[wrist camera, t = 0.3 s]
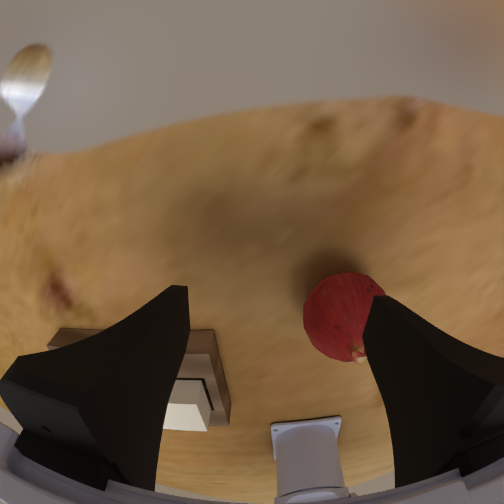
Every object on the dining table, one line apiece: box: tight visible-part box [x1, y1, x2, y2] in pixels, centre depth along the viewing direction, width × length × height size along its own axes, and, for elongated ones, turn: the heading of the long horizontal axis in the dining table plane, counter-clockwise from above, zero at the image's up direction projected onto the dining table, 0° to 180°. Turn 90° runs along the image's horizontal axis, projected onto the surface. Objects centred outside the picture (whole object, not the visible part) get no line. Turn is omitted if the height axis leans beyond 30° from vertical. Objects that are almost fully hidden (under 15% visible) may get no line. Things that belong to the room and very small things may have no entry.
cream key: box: [163, 380, 211, 431], centre depth 22 cm, size 4×4×3 cm
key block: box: [47, 328, 231, 426], centre depth 25 cm, size 10×16×3 cm, turn 96°
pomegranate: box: [303, 272, 386, 365], centre depth 18 cm, size 6×6×8 cm
